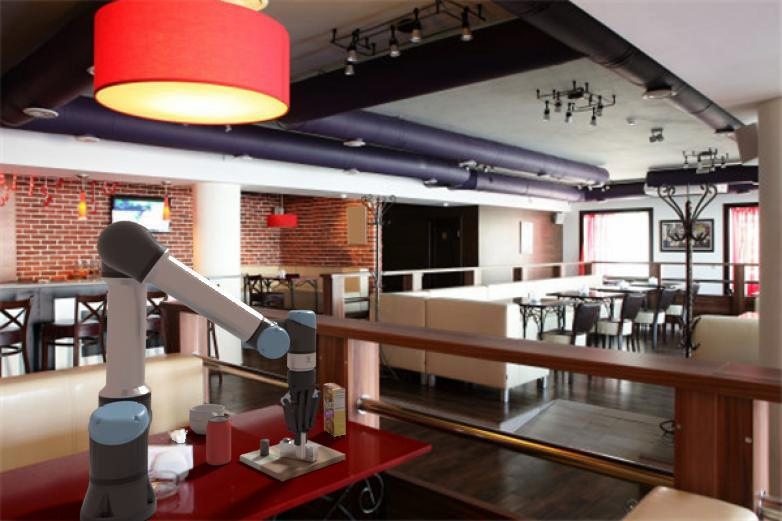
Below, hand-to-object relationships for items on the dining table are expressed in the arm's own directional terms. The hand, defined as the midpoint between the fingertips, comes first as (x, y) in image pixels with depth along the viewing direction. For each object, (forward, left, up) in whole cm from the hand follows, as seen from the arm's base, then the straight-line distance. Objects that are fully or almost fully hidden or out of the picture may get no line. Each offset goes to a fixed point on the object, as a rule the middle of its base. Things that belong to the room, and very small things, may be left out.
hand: (300, 456), depth 151 cm
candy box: (+25, +16, -3) cm, 30 cm away
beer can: (-13, +20, -3) cm, 24 cm away
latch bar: (+1, +3, -2) cm, 3 cm away
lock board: (+2, +6, -3) cm, 7 cm away
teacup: (-3, +45, -3) cm, 45 cm away
